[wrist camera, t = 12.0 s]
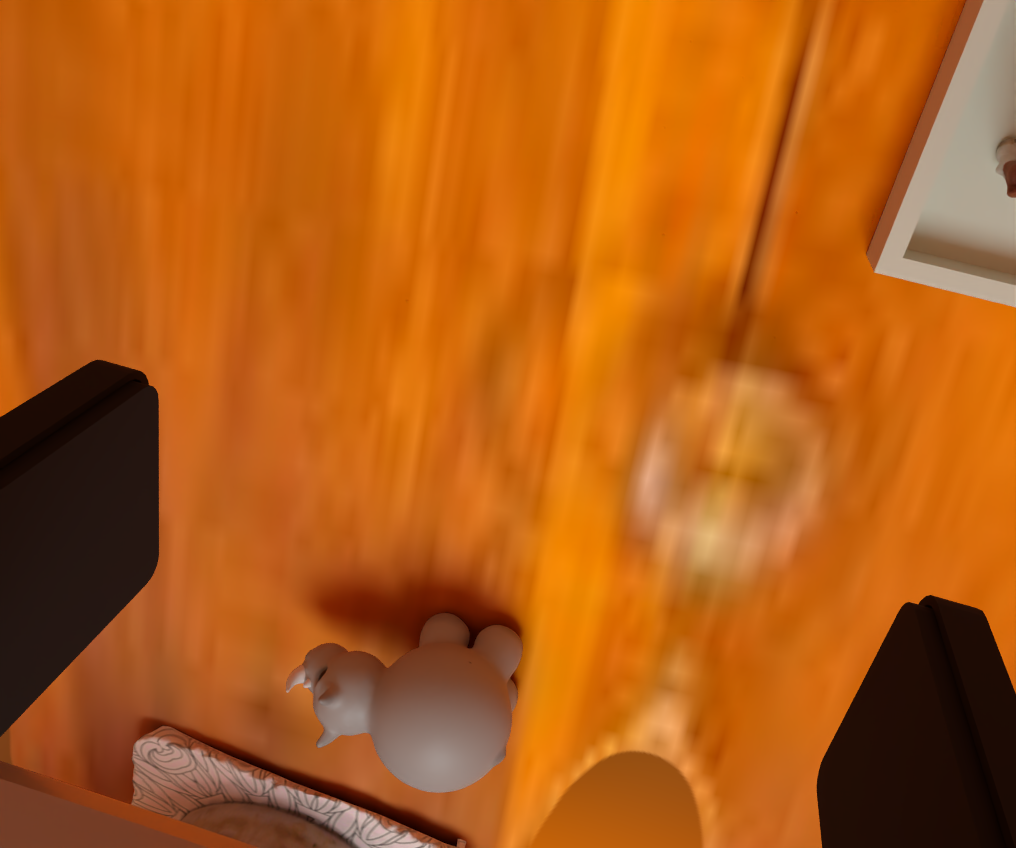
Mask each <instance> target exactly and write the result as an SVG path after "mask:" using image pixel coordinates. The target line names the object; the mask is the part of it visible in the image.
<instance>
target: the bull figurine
mask: <svg viewBox="0 0 1016 848" xmlns="http://www.w3.org/2000/svg"><path fill="white" fill-rule="evenodd" d="M996 159H997V160H998V161H999V164H998V166H997V167H996V173H998V174H999V175H1001V176H1003V177H1004V179H1005V181H1006V184H1007V195H1008V196H1009V197H1011V198H1016V139H1014V138H1007V139H1005V140H1003V141H1002V142H1001V143H1000V144H999V146H998V147H997V150H996Z"/></svg>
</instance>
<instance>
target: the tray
mask: <svg viewBox="0 0 1016 848" xmlns="http://www.w3.org/2000/svg"><path fill="white" fill-rule="evenodd" d="M1007 138H1014V139H1016V0H966V3H965V5H964V8H963V10H962V13H961V15H960V18H959V21H958V23H957V26H956V28H955V31H954V33H953V36H952V38H951V41H950V43H949V46H948V48H947V51H946V53H945V56H944V59H943V61H942V64H941V66H940V69H939V71H938V74H937V76H936V79H935V81H934V84H933V86H932V89H931V92H930V94H929V97H928V99H927V102H926V104H925V107H924V109H923V112H922V114H921V117H920V119H919V122H918V124H917V127H916V130H915V132H914V135H913V137H912V140H911V142H910V145H909V147H908V150H907V152H906V155H905V157H904V160H903V163H902V165H901V168H900V170H899V173H898V175H897V178H896V180H895V183H894V185H893V188H892V190H891V193H890V195H889V198H888V201H887V203H886V206H885V208H884V211H883V213H882V216H881V218H880V221H879V223H878V226H877V228H876V231H875V234H874V236H873V239H872V241H871V244H870V246H869V249H868V251H867V254H866V255H867V257H868V260H869V262H870V264H871V266H872V268H873V271H874V272H876V273H880V274H884V275H888V276H892V277H896V278H900V279H904V280H908V281H912V282H916V283H920V284H924V285H928V286H932V287H936V288H940V289H944V290H948V291H952V292H957V293H961V294H965V295H969V296H973V297H977V298H981V299H985V300H989V301H993V302H997V303H1001V304H1005V305H1009V306H1013V307H1016V198H1011V197H1009V196H1008V195H1007V184H1006V181H1005V179H1004V177H1003V176H1001V175H999V174H998V173H996V167H997V166H998V164H999V161H998V160H997V159H996V150H997V147H998V146H999V144H1000V143H1001V142H1002V141H1003V140H1005V139H1007Z"/></svg>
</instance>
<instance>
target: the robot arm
mask: <svg viewBox="0 0 1016 848" xmlns="http://www.w3.org/2000/svg"><path fill="white" fill-rule="evenodd" d="M158 557H159V400H158V393H157V391H156V389H155V388H154V387H153V386H149V383H148V380H147V377H146V375H145V374H144V373H143V372H141V371H138V370H135V369H131V368H128V367H124V366H121V365H117V364H113V363H110V362H106V361H103V360H95V361H92V362H90V363H88V364H87V365H85V366H83V367H82V368H80V369H79V370H77V371H75V372H74V373H72V374H70V375H69V376H67V377H65V378H64V379H62V380H61V381H59V382H57V383H56V384H54V385H52V386H51V387H49V388H47V389H46V390H44V391H42V392H41V393H39V394H38V395H36V396H34V397H33V398H31V399H29V400H28V401H26V402H24V403H23V404H21V405H20V406H18V407H16V408H15V409H13V410H11V411H10V412H8V413H6V414H5V415H3V416H2V417H0V737H1V736H2V734H3V733H4V732H5V731H6V730H7V729H8V728H9V727H10V726H11V725H12V724H13V723H14V722H15V721H16V720H17V719H18V718H19V717H20V716H21V715H22V714H23V713H24V712H25V710H26V709H27V708H28V707H29V706H30V705H31V704H32V703H33V702H34V701H35V700H36V699H37V698H38V697H39V696H40V695H41V694H42V693H43V692H44V691H45V690H46V689H47V687H48V686H49V685H50V684H51V683H52V682H53V681H54V680H55V679H56V678H57V677H58V676H59V675H60V674H61V673H62V672H63V671H64V670H65V669H66V668H67V667H68V666H69V665H70V663H71V662H72V661H73V660H74V659H75V658H76V657H77V656H78V655H79V654H80V653H81V652H82V651H83V650H84V649H85V648H86V647H87V646H88V645H89V644H90V643H91V642H92V640H93V639H94V638H95V637H96V636H97V635H98V634H99V633H100V632H101V631H102V630H103V629H104V628H105V627H106V626H107V625H108V624H109V623H110V622H111V621H112V620H113V619H114V618H115V616H116V615H117V614H118V613H119V612H120V611H121V610H122V609H123V608H124V607H125V606H126V605H127V604H128V603H129V602H130V601H131V600H132V599H133V598H134V597H135V596H136V595H137V593H138V592H139V591H140V590H141V589H142V588H143V587H144V586H145V585H146V584H147V583H148V581H149V580H150V579H151V577H152V575H153V574H154V571H155V569H156V566H157V562H158ZM817 798H818V809H819V819H820V829H821V839H822V848H1016V693H1015V691H1014V688H1013V686H1012V683H1011V680H1010V678H1009V675H1008V673H1007V670H1006V667H1005V665H1004V662H1003V660H1002V657H1001V654H1000V652H999V649H998V647H997V644H996V642H995V639H994V636H993V634H992V631H991V629H990V626H989V623H988V621H987V618H986V616H985V614H984V613H983V611H982V610H980V609H978V608H974V607H971V606H967V605H963V604H960V603H956V602H953V601H949V600H946V599H942V598H939V597H935V596H932V595H929V596H926V597H924V598H923V599H922V600H921V601H920V603H919V604H914V603H911V602H908V603H905V604H904V605H903V606H902V607H901V609H900V611H899V612H898V614H897V616H896V618H895V620H894V622H893V624H892V626H891V628H890V630H889V632H888V633H887V635H886V637H885V639H884V641H883V643H882V645H881V647H880V649H879V651H878V653H877V655H876V657H875V659H874V661H873V663H872V665H871V666H870V668H869V670H868V672H867V674H866V676H865V678H864V680H863V682H862V684H861V686H860V688H859V690H858V692H857V694H856V696H855V697H854V699H853V701H852V703H851V705H850V707H849V709H848V711H847V713H846V715H845V717H844V719H843V721H842V723H841V725H840V727H839V728H838V730H837V732H836V734H835V736H834V738H833V740H832V742H831V744H830V746H829V748H828V750H827V752H826V754H825V756H824V758H823V760H822V762H821V765H820V769H819V773H818V778H817ZM0 848H258V847H255V846H252V845H249V844H246V843H243V842H241V841H238V840H235V839H232V838H229V837H226V836H223V835H220V834H217V833H214V832H211V831H208V830H205V829H202V828H199V827H196V826H193V825H190V824H188V823H185V822H182V821H179V820H176V819H173V818H170V817H167V816H164V815H161V814H158V813H155V812H152V811H149V810H146V809H143V808H140V807H137V806H134V805H131V804H128V803H125V802H122V801H119V800H116V799H113V798H110V797H107V796H104V795H101V794H98V793H95V792H92V791H89V790H86V789H83V788H80V787H77V786H74V785H71V784H68V783H65V782H62V781H59V780H56V779H53V778H50V777H47V776H44V775H41V774H38V773H35V772H32V771H29V770H26V769H23V768H20V767H17V766H14V765H11V764H8V763H5V762H2V761H0Z"/></svg>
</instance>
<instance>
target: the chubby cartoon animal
mask: <svg viewBox="0 0 1016 848" xmlns="http://www.w3.org/2000/svg"><path fill="white" fill-rule="evenodd" d="M469 639H470V632H469V629H468V627H467V626H466V624H465V623H464V622H463V621H462V620H461V619H460V618H458V617H457V616H455V615H453V614H450V613H439V614H436V615H434V616H432V617H431V618H429V619H428V620H427V622H426V623H425V625H424V627H423V629H422V631H421V635H420V641H419V647H418V648H416V649H413V650H411V651H410V652H408V653H406V654H405V655H403V656H402V657H401V658H399V659H398V660H397V661H396V662H395V663H393V664H392V665H391V666H390V667H389V668H387V667H385V666H384V665H383V663H382V662H381V661H380V660H379V659H377V658H376V657H375V656H373V655H371V654H369V653H366V652H362V651H351V652H348V651H347V650H346V649H345V648H344V647H342V646H340V645H338V644H335V643H326V644H321V645H319V646H317V647H316V648H314V649H312V650H310V651H309V652H308V653H307V655H306V657H305V661H304V663H303V664H302V665H300V666H299V667H297V668H296V669H294V670H293V671H292V672H291V674H290V675H289V677H288V679H287V682H286V691H287V692H289V690H290V689H291V688H292V687H293V686H294V685H296V684H299V683H303V684H304V685H303V687H304V688H309V690H310V691H311V692H312V693H313V708H314V711H315V714H316V715H317V717H318V719H319V721H320V722H321V724H322V725H323V727H324V732H323V734H322V735H321V737H320V738H319V740H318V741H317V743H316V745H317V747H318V748H320V747H323V746H325V745H327V744H329V743H331V742H332V741H333V740H335V739H336V738H337V737H338V736H340V735H357V734H361V733H369V734H370V735H371V737H372V740H373V743H374V746H375V749H376V752H377V754H378V756H379V757H380V759H381V761H382V762H383V764H384V765H385V766H386V767H387V769H388V770H389V771H390V772H391V773H392V774H393V775H394V776H395V777H397V778H398V779H399V780H401V781H402V782H404V783H405V784H407V785H409V786H411V787H414V788H417V789H419V790H423V791H428V792H451V791H456V790H459V789H462V788H465V787H467V786H469V785H471V784H473V783H475V782H476V781H478V780H480V779H481V778H482V777H483V776H485V775H486V774H487V773H488V772H489V771H490V770H491V769H492V768H493V767H494V766H496V765H497V764H499V763H500V762H501V761H502V760H503V759H504V758H505V756H506V745H507V742H508V739H509V736H510V732H511V725H512V711H513V710H514V708H515V706H516V703H517V700H518V691H517V688H516V686H515V684H514V682H513V681H512V680H511V679H510V677H511V675H512V674H513V673H514V671H515V670H516V668H517V666H518V664H519V662H520V659H521V656H522V650H523V645H522V641H521V639H520V637H519V636H518V635H517V634H516V633H515V632H514V631H513V630H511V629H509V628H508V627H505V626H502V625H491V626H488V627H486V628H485V629H483V630H482V631H481V632H480V633H479V634H478V636H477V637H476V640H475V643H474V646H473V647H472V648H467V646H468V644H469Z"/></svg>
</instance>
